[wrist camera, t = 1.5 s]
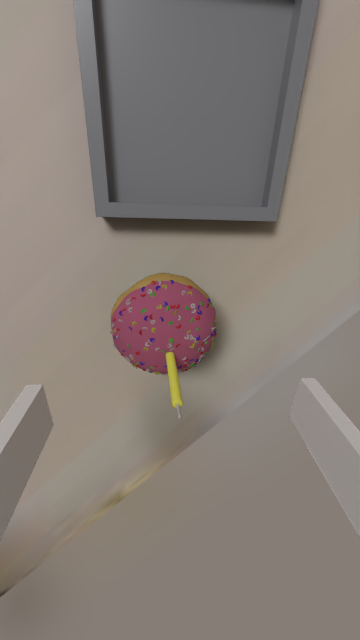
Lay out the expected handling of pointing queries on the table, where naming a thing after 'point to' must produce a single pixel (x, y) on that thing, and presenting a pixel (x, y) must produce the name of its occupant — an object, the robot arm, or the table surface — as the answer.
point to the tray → (192, 103)
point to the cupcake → (164, 327)
